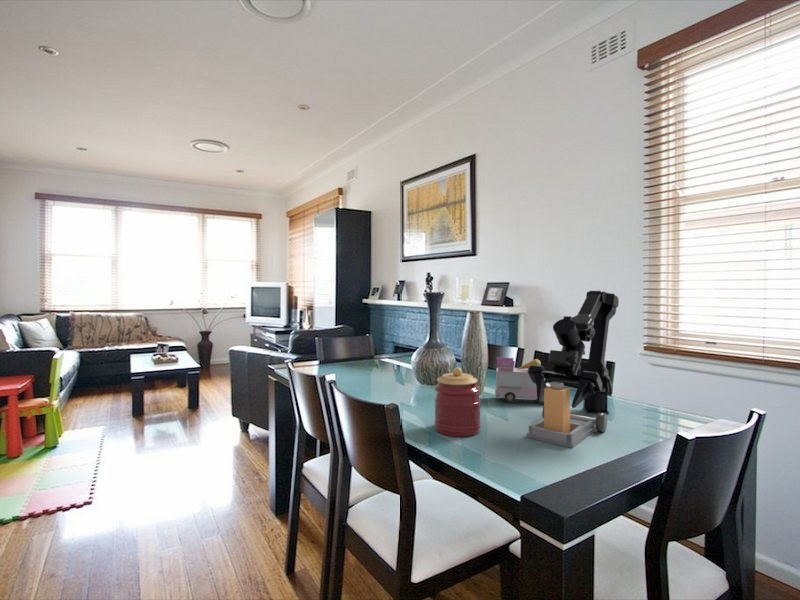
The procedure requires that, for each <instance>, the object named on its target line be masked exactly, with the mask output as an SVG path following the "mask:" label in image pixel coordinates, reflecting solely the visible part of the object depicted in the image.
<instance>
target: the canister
mask: <svg viewBox="0 0 800 600" xmlns="http://www.w3.org/2000/svg"><path fill="white" fill-rule="evenodd" d="M436 380H437V382H438V383H437V384H436V385H435V386H434V388H433V390H434V391H435V397H434V400H433V401H434V421H433V422H434V428H435V431H436V432H437V433H439V434H442V435H443V436H450V437H456V438H457V437H470V436H474V435H477V434H478V433H480V431H481V425H482V424H481V423H482V422H481V401H482V400H481V399H480V392H481V390H482V388H481V387H480V386H479V385H477V383H478V381H479V380H478V378H476V377H474V376H473V374H470V373H465V372H463V371H462V368H461V367H459V366H457V367H454V368H453V369H452V372H447V373H443V374H442V375H441V376H439V377H438V378H437V379H436Z"/></svg>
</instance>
